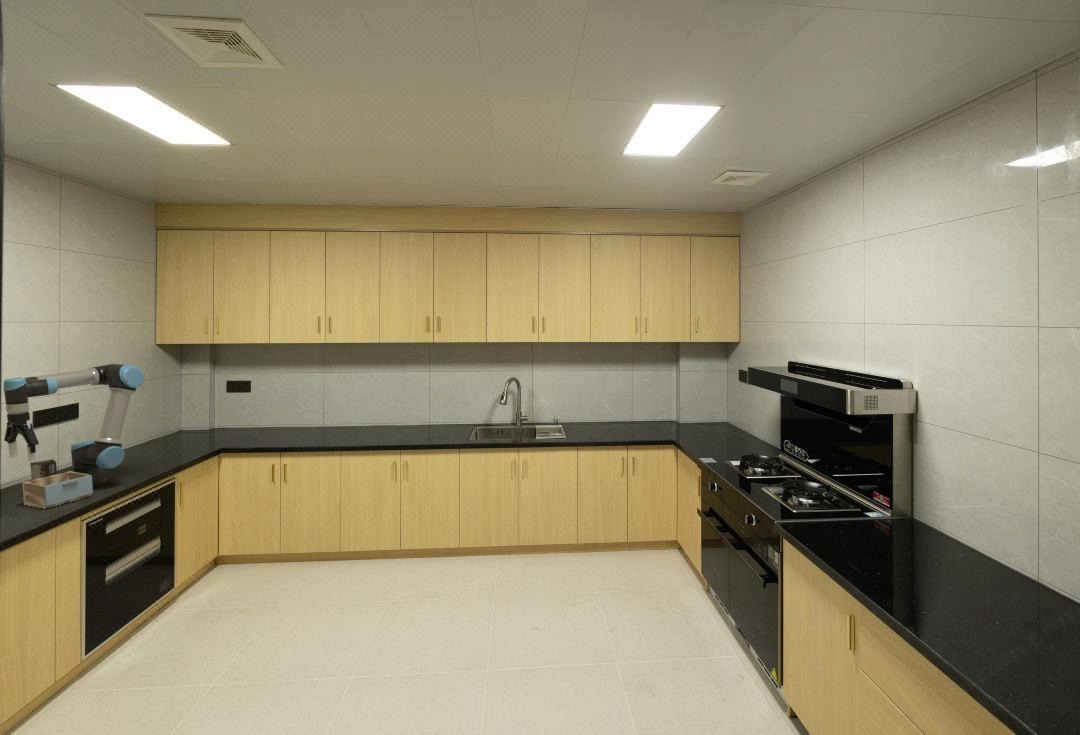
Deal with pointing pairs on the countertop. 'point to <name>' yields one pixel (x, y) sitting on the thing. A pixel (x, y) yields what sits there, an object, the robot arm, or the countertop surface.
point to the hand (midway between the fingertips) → (23, 458)
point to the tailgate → (68, 490)
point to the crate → (35, 489)
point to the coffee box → (43, 469)
